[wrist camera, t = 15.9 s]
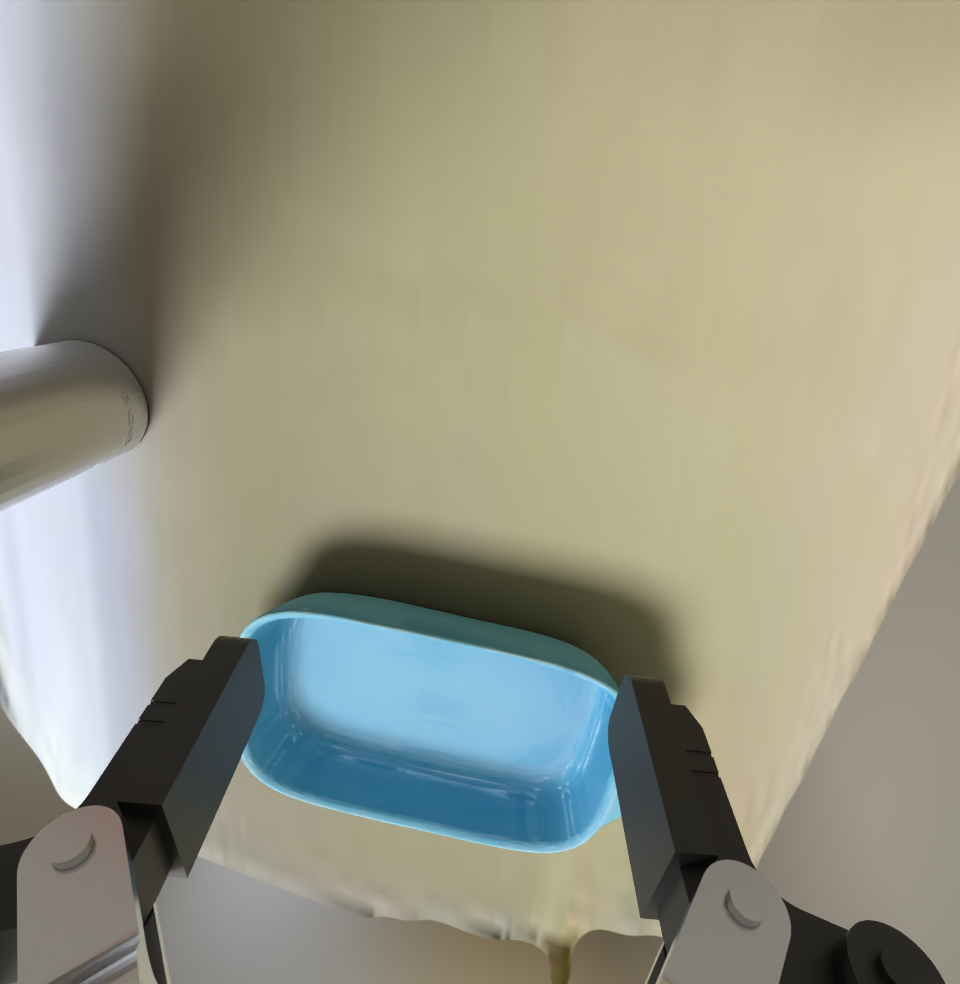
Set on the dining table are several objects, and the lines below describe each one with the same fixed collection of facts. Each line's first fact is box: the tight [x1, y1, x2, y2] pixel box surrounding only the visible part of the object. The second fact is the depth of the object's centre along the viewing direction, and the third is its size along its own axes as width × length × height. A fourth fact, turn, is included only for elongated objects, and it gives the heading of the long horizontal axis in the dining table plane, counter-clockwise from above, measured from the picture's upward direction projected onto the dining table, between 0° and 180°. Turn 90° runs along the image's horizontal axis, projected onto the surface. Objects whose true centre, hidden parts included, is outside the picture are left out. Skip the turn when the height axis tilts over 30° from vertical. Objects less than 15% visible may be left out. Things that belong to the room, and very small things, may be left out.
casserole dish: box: [239, 592, 621, 853], centre depth 48 cm, size 37×22×7 cm, turn 81°
